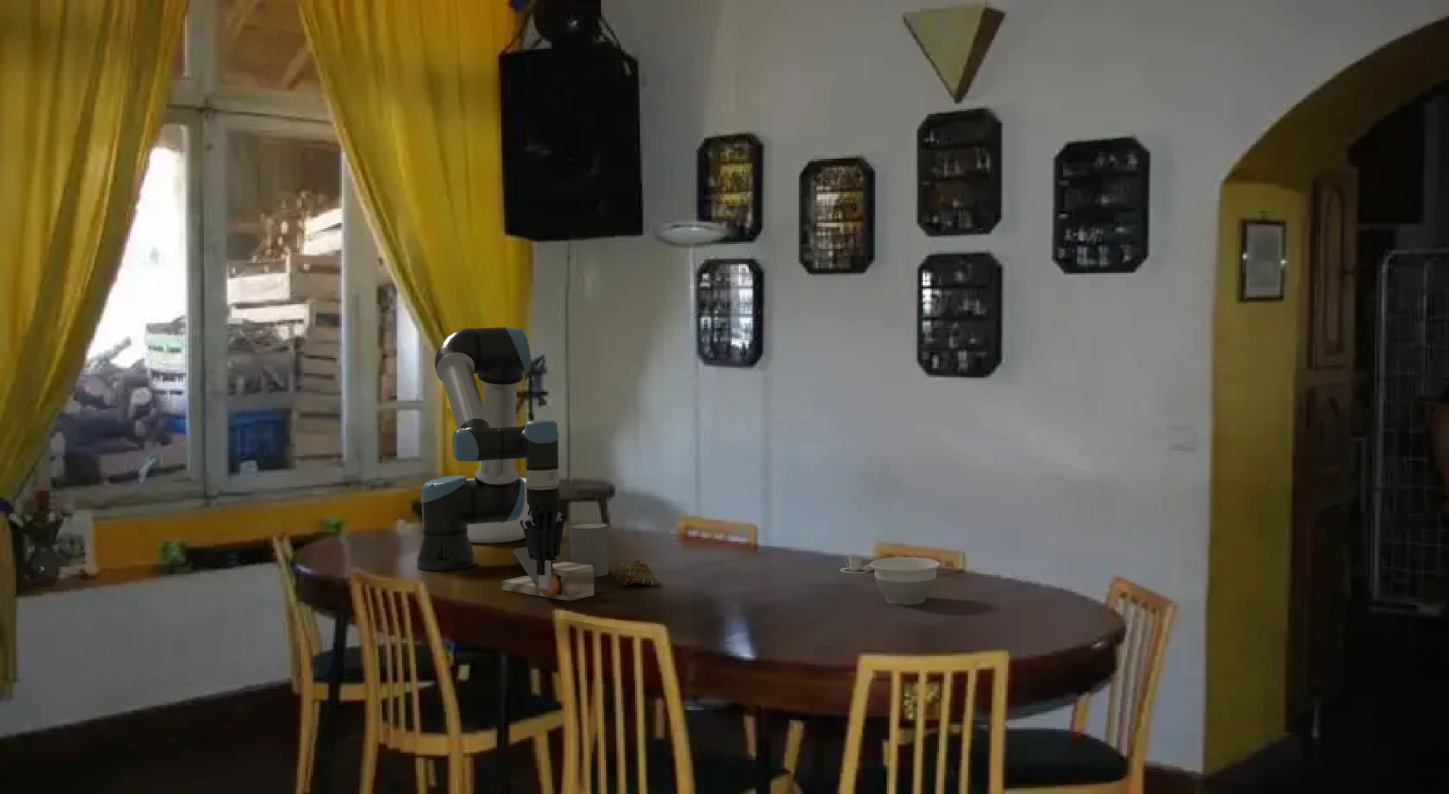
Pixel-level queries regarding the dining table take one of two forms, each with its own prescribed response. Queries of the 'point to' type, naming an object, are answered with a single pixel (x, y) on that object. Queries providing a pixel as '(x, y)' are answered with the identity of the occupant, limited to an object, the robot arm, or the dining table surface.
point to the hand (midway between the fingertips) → (545, 588)
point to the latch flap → (527, 564)
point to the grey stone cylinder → (590, 546)
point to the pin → (555, 586)
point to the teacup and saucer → (856, 564)
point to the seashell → (633, 573)
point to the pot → (498, 528)
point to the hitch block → (573, 581)
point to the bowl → (905, 578)
